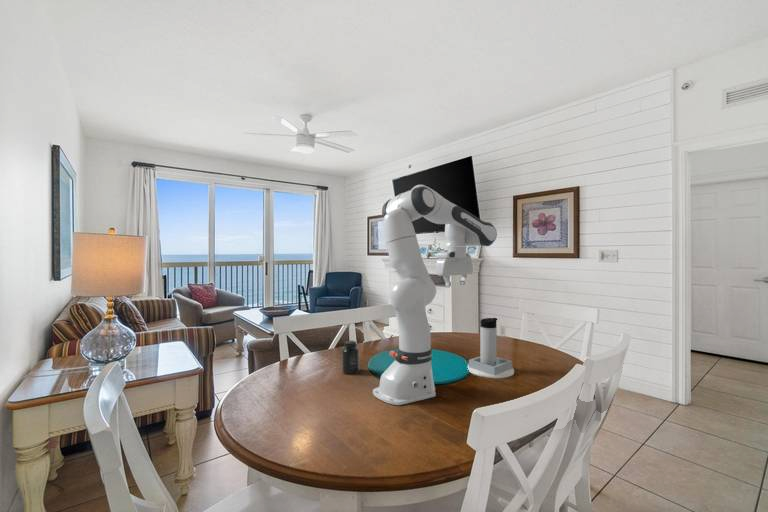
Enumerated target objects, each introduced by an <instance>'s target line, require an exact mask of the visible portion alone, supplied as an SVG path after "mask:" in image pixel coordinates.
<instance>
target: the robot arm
mask: <svg viewBox="0 0 768 512" xmlns="http://www.w3.org/2000/svg"><path fill="white" fill-rule="evenodd" d="M381 215H382V223H383V224H382V227H383V235H384V240H385V241H384V242H385V245H386V249H387V254H388V258H389V261H390V264H391V265H390V266H392V268H393V269H394V270H395V271H396V273H397V275H398V277H399V280H400V281H398V282H397V283H396V284H395V285H393V286H392V288H391V289H390V292H389V302H390V305H391V306H392V308H394V312H395V315H396V320H397V324H398V348H397V350H396V351H394V350H391V351H389V356H390V357H391V358H394V361H393V362H392V363H391V364H390V365H389V366H388V368H386V370H385V371H384V372H383V373H382V374H381V375H380V379H379V386H377V387H375V388H374V389H373V390H372V395H373V396H374V397H375V398H377V399H379V400H380V401H381V402H385V403H387V404H389V405H395V406H402V405H406V404H410V403H415V402H419V401H423V400H426V399H427V400H428V399H430V398H435V397H436V396H437V393H436V386H435V382H434V375H433V368H432V359H433V351H432V347H431V325H430V323H429V320H428V318H427V317H428V316H427V312H426V307H427V306H429V305H430V304H431V303H432V302H433V300H434V299H435V298H436V295H437V287H436V284H435V282H434V281H433V280H432V278H431V276H430V272H429V271H428V269H427V266H426V264H425V262H424V260H423V257H422V254H421V250H420V245H419V242H418V237H417V234H416V233H417V232H416V231H415V227H414V224H413V222H414V221H416V220H419V219H421V218H424V219H425V220H427V222H428V221H429V222H430V223H432V224H433V223H434V224H436V225H445V226H444V239H445V245H444V249H443V250H440V251H438V252H437V253H436V258H437V259H436V269H435V270H436V275H437V276H439V277H443V281H444V282H445V287H451V286H452V282H451V281H450V276H451V277H452V276H459V275H460V276H461V279H460V280H459V285H460V286H464V285H466V280H467V278H468V275H472V274H473V272H474V267H473V260H472V259H473V258H472V257H471V255H470V253H468V252H467V251H466V250H467V248H466V246H467V247H469V246H470V247H472V246H477V247H478V246H481V247H490V246H492V244H494V242H495V241H496V240H497V235H498V233H497V232H498V231H497V229H496V227H495V226H494V224H493V223H491V222H489V221H484V220H482V219H481V218H479V217H477V216H476V215H474V214H472V213H471V212H469V211H468V210H466V209H465V208H463V207H461V206H459V205H457V204H455V203H453V202H451V201H450V200H448V199H446V198H445V197H444V196H442V195H441V194H439V193H438V192H437V191H436V190H434V189H432V188H431V187H429V186H426V185H425V184H417V185H414V186H413V187H412V188H411V189H409V190H407V191H405V192H402V193H399V194H398V195H396V196H394V197H392V198H390V199H388V200H387V201H386V202H384V204H383V206H382V208H381Z"/></svg>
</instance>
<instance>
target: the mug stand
mask: <svg viewBox="0 0 768 512" xmlns="http://www.w3.org/2000/svg"><path fill="white" fill-rule="evenodd" d="M467 368H468V369H467ZM467 368H466V369H467V371H468V370H469V371H468V372H469V373H471V375H474V376H477V377H481V378H486V379H494V380H496V379H499V380H500V379H507V378H510V377H513V376H514V375H515V369H514V367H513V360H510V359H506V358H501V357H498V356H497V364H496V366H491V365H488V364H484V363H481V362H480V356H476V357H474V358H471V359H468V363H467Z"/></svg>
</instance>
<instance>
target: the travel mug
mask: <svg viewBox="0 0 768 512" xmlns="http://www.w3.org/2000/svg"><path fill="white" fill-rule="evenodd" d="M497 321H498V318H497V317H486V318H482V319H480V322H479V323H480V326H479V327H480V335H479V336H480V338H479V339H480V340H479V341H480V343H479V345H480V349H479V350H480V352H479V353H480V356H479V357H480V362H481V363H484V364H488V365H491V366H496V364H497V357H498V356H497V355H498V353H497V347H498V346H497V344H498V343H497V334H498V333H497V331H498V330H497Z"/></svg>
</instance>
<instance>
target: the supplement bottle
mask: <svg viewBox="0 0 768 512" xmlns="http://www.w3.org/2000/svg"><path fill="white" fill-rule="evenodd" d="M359 353H360V352H359V348H357V342H356V341H355V340H346V341H343V348H342V350H341V371H342V373H343V374H346V375H354V374H355V375H356V374H358V373H359V371H360V356H359V355H360V354H359Z"/></svg>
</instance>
